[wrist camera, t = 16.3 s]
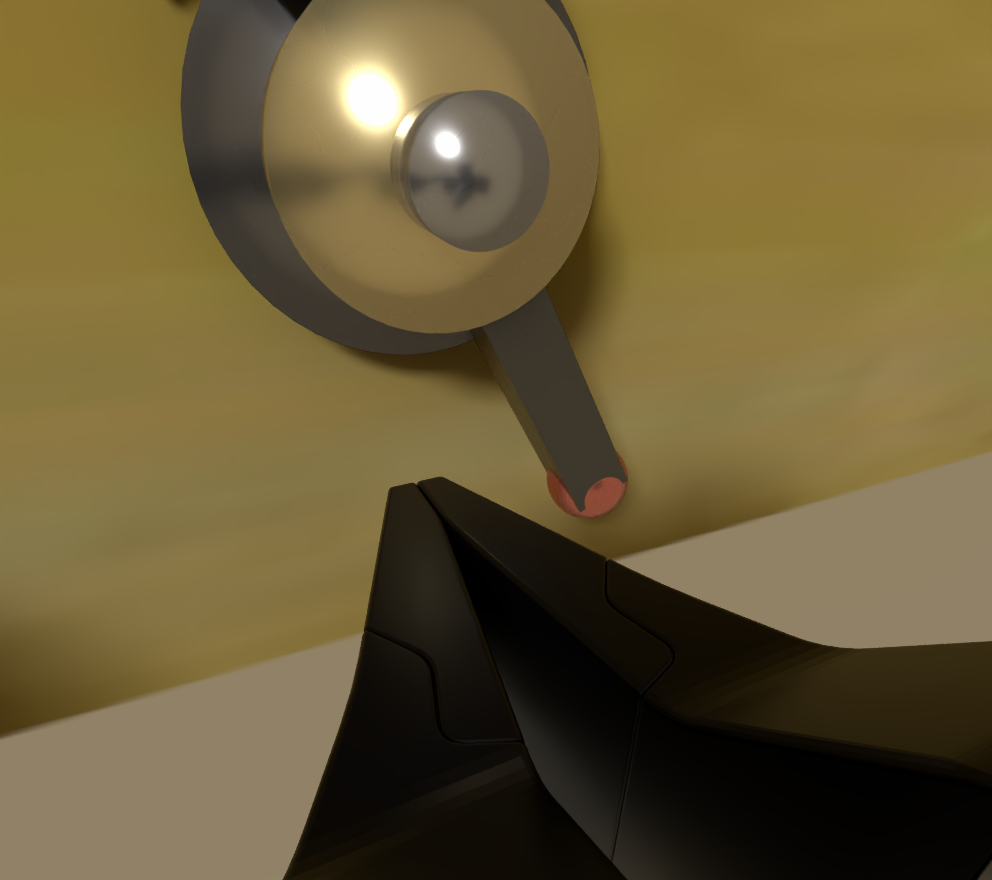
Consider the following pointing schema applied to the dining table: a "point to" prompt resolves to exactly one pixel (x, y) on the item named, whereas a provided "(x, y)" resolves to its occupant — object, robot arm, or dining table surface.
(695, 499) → the dining table surface
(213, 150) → the nut base
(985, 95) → the dining table surface
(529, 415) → the grey red-tipped part
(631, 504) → the dining table surface
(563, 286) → the dining table surface
